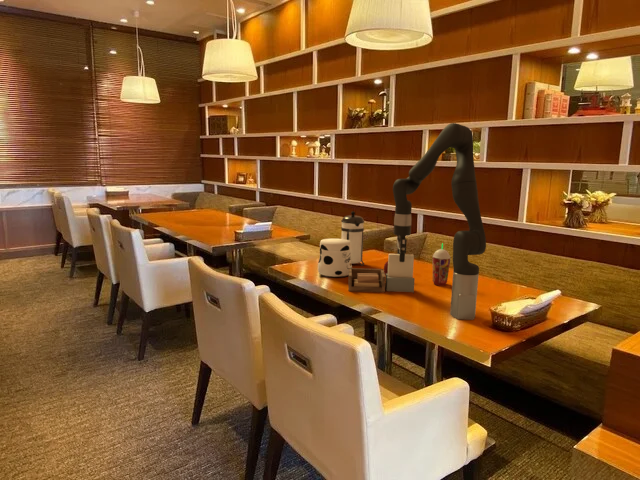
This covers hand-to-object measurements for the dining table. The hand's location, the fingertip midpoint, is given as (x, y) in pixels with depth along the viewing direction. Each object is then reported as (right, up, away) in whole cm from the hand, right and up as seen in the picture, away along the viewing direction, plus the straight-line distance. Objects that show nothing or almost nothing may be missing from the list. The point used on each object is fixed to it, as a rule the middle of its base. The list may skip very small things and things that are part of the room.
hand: (400, 259), depth 203 cm
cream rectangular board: (0, -13, +2) cm, 14 cm away
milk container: (-29, -10, +27) cm, 41 cm away
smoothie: (+22, -13, +15) cm, 29 cm away
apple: (0, -11, +20) cm, 23 cm away
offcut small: (-15, -10, +1) cm, 18 cm away
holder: (0, -14, +3) cm, 15 cm away
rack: (-15, -14, +4) cm, 21 cm away
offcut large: (-15, -13, +2) cm, 20 cm away
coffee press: (-19, -5, +54) cm, 57 cm away
